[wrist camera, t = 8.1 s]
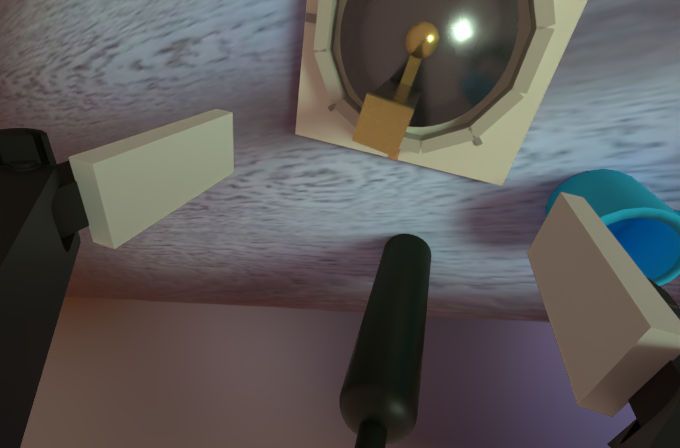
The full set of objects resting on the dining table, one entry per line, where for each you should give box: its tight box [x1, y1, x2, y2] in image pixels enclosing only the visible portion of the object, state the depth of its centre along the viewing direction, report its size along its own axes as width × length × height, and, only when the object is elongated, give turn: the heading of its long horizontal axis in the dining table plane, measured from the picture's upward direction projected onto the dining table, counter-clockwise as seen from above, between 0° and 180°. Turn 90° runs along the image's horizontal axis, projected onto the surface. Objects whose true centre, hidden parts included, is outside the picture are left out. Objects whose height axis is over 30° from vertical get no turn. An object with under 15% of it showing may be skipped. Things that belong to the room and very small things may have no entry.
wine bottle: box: [340, 234, 431, 448], centre depth 29 cm, size 6×6×30 cm
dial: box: [340, 0, 519, 157], centre depth 24 cm, size 14×14×11 cm
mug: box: [546, 169, 680, 286], centre depth 30 cm, size 12×8×8 cm
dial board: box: [295, 0, 587, 186], centre depth 29 cm, size 22×22×4 cm
